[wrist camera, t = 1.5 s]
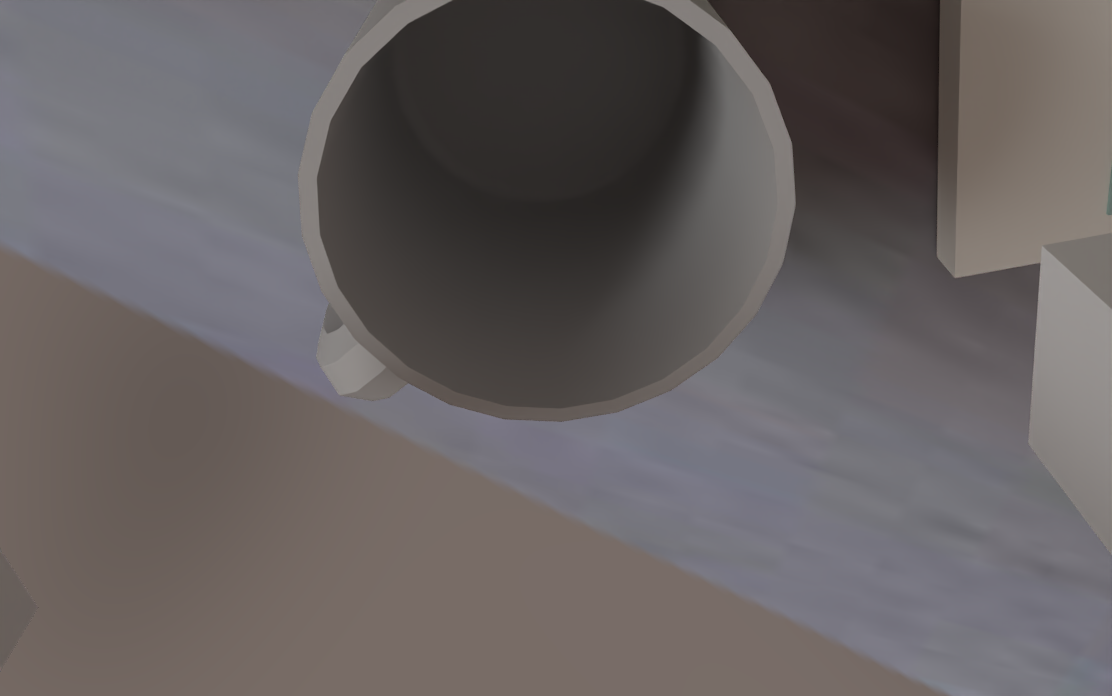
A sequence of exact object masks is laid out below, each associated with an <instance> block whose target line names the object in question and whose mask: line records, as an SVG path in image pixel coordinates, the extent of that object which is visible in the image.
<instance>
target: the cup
mask: <svg viewBox="0 0 1112 696" xmlns="http://www.w3.org/2000/svg"><path fill="white" fill-rule="evenodd" d="M298 184H299V199H300V214H301V229H302V237H303V240H304V243H305V246H306V249H307V252H308V254H309V257H310V260H311V263H312V266H313V269H314V271H315V274H316V277H317V280H318V283H319V285H320V288H321V291H322V293H323V294H324V296H325V297H326V299H327V300H328V302H329V305H328V307H327V310H326V314H325V318H324V322H323V326H322V330H321V334H320V338H319V343H318V349H317V356H316V358H317V360H318V362H319V365H320V367H321V368H322V370H323V371H324V373H325V374H326V376H327V377H328V379H329V380H330V382H331V383H332V385H333V386H334V388H335V389H336V391H337V392H338V394H339V395H340V396H345V397H351V398H357V399H363V400H369V401H376V400H380V399H385V398H389V397H391V396H392V395H393V394H395V393H396V392H397V391H399V390H400V389H401V388H403V387H404V386H405V385H407V384H408V383H409V384H411V385H413V386H415V387H417V388H419V389H421V390H423V391H425V392H427V393H428V394H430V395H432V396H434V397H436V398H438V399H440V400H442V401H444V402H446V403H448V404H450V405H454V406H457V407H461V408H465V409H468V410H472V411H476V412H480V413H483V414H487V415H491V416H494V417H498V418H502V419H511V420H535V421H558V422H562V421H568V420H574V419H580V418H586V417H592V416H598V415H604V414H610V413H616V412H619V411H622V410H624V409H627V408H629V407H632V406H634V405H637V404H639V403H641V402H644V401H646V400H649V399H651V398H654V397H656V396H659V395H661V394H664V393H666V392H668V391H671V390H672V389H674V388H675V387H677V386H678V385H679V384H681V383H682V382H684V381H685V380H687V379H688V378H690V377H691V376H692V375H694V374H695V373H697V372H698V371H700V370H701V369H703V368H704V367H705V366H707V365H708V364H710V363H711V362H713V361H714V360H716V359H717V358H718V357H719V356H720V355H721V354H722V353H723V352H724V350H725V349H726V348H727V347H728V346H729V345H730V344H731V343H732V341H733V340H734V339H735V338H736V337H737V336H738V335H739V334H740V332H741V331H742V330H743V329H744V328H745V327H746V326H747V324H748V323H749V322H750V321H751V320H752V319H753V318H754V317H755V315H756V314H757V312H758V310H759V308H760V306H761V305H762V303H763V301H764V299H765V297H766V295H767V293H768V291H769V289H770V287H771V285H772V283H773V282H774V280H775V278H776V276H777V274H778V272H779V270H780V268H781V266H782V264H783V262H784V257H785V252H786V248H787V243H788V238H789V234H790V229H791V225H792V220H793V215H794V211H795V206H796V200H795V184H794V167H793V150H792V142H791V139H790V137H789V134H788V131H787V129H786V126H785V123H784V120H783V118H782V115H781V112H780V109H779V107H778V104H777V101H776V99H775V96H774V93H773V90H772V88H771V85H770V83H769V82H768V80H767V79H766V78H765V76H764V75H763V74H762V72H761V71H760V70H759V68H758V67H757V66H756V64H755V63H754V62H753V60H752V59H751V58H750V56H749V55H748V53H747V52H746V51H745V49H744V48H743V47H742V45H741V44H740V43H739V41H738V40H737V39H736V37H735V36H734V35H733V33H732V32H731V31H730V29H729V28H728V27H727V25H726V24H725V23H724V21H723V20H722V19H721V18H720V16H719V15H718V14H717V12H716V11H715V10H714V9H713V7H712V6H711V5H710V3H709V2H708V1H707V0H377V2H376V4H375V5H374V7H373V9H372V10H371V12H370V14H369V15H368V17H367V19H366V20H365V22H364V24H363V25H362V27H361V28H360V30H359V32H358V33H357V35H356V37H355V38H354V40H353V42H352V43H351V45H350V47H349V48H348V50H347V52H346V53H345V55H344V57H343V59H342V60H341V62H340V64H339V66H338V67H337V69H336V71H335V73H334V75H333V76H332V78H331V80H330V82H329V84H328V85H327V87H326V89H325V91H324V92H323V94H322V96H321V98H320V100H319V101H318V103H317V105H316V107H315V108H314V110H313V112H312V115H311V120H310V124H309V128H308V133H307V137H306V142H305V146H304V150H303V155H302V159H301V163H300V168H299V172H298Z"/></svg>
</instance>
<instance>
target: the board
mask: <svg viewBox="0 0 1112 696" xmlns="http://www.w3.org/2000/svg"><path fill="white" fill-rule="evenodd" d="M1108 233H1112V0H940V38H939V117H938V196H937V258H938V259H939V260H940V261H941V262H942V264H943V265H944V266H945V267H946V268H947V270H948V271H949V272H950V273H951V274H952V276H953V277H954V278H959V277H964V276H970V275H975V274H981V273H986V272H992V271H997V270H1003V269H1008V268H1014V267H1020V266H1025V265H1031V264H1036V263H1041V251H1042V245H1047V244H1053V243H1058V242H1064V241H1070V240H1075V239H1081V238H1086V237H1092V236H1097V235H1103V234H1108Z"/></svg>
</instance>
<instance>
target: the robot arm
mask: <svg viewBox="0 0 1112 696" xmlns="http://www.w3.org/2000/svg"><path fill="white" fill-rule="evenodd" d="M1028 444H1029V445H1030V447H1031V448H1032V449H1033V451H1034V452H1035V453H1036V455H1037V456H1038V457H1039V459H1040V460H1041V461H1042V463H1043V464H1044V465H1045V467H1046V468H1047V469H1048V471H1049V472H1050V473H1051V475H1052V476H1053V477H1054V479H1055V480H1056V481H1057V483H1058V484H1059V485H1060V487H1061V488H1062V489H1063V491H1064V492H1065V493H1066V495H1067V496H1068V497H1069V499H1070V500H1071V501H1072V503H1073V504H1074V505H1075V507H1076V508H1077V509H1078V511H1079V512H1080V513H1081V515H1082V516H1083V517H1084V519H1085V520H1086V521H1087V523H1088V524H1089V525H1090V527H1091V528H1092V529H1093V531H1094V532H1095V533H1096V535H1097V536H1098V537H1099V539H1100V540H1101V541H1102V543H1103V544H1104V545H1105V547H1106V548H1107V549H1108V551H1109V552H1110V553H1111V555H1112V233H1108V234H1103V235H1097V236H1092V237H1086V238H1081V239H1075V240H1070V241H1064V242H1058V243H1053V244H1047V245H1042V251H1041V266H1040V280H1039V295H1038V310H1037V325H1036V339H1035V354H1034V369H1033V383H1032V398H1031V413H1030V428H1029V442H1028ZM37 609H38V606H37V605H36V603H35V602H34V600H33V599H32V597H31V595H30V594H29V592H28V591H27V589H26V588H25V586H24V585H23V583H22V581H21V580H20V578H19V577H18V575H17V574H16V572H15V571H14V569H13V568H12V566H11V564H10V563H9V561H8V560H7V558H6V557H5V555H4V554H3V552H2V551H1V549H0V671H1V670H2V668H3V666H4V665H5V663H6V661H7V659H8V658H9V656H10V654H11V653H12V651H13V649H14V648H15V646H16V644H17V643H18V641H19V639H20V637H21V636H22V634H23V632H24V631H25V629H26V627H27V626H28V624H29V622H30V620H31V619H32V617H33V616H34V614H35V612H36V610H37Z"/></svg>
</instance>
